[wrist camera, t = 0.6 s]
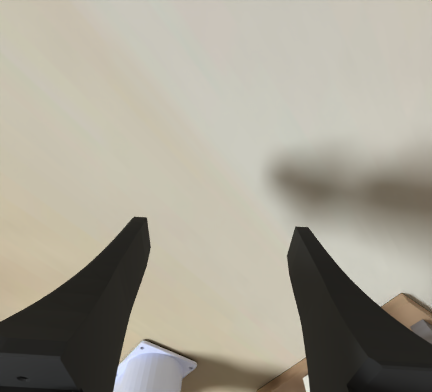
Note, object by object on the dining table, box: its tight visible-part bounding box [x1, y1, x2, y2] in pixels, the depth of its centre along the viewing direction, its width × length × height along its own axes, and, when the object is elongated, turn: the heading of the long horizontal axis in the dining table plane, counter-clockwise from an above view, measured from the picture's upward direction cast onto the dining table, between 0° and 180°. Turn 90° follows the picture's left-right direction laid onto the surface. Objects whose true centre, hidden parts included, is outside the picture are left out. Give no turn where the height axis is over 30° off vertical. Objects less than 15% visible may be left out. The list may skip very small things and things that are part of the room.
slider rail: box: [257, 293, 432, 392], centre depth 34 cm, size 24×9×6 cm, turn 144°
